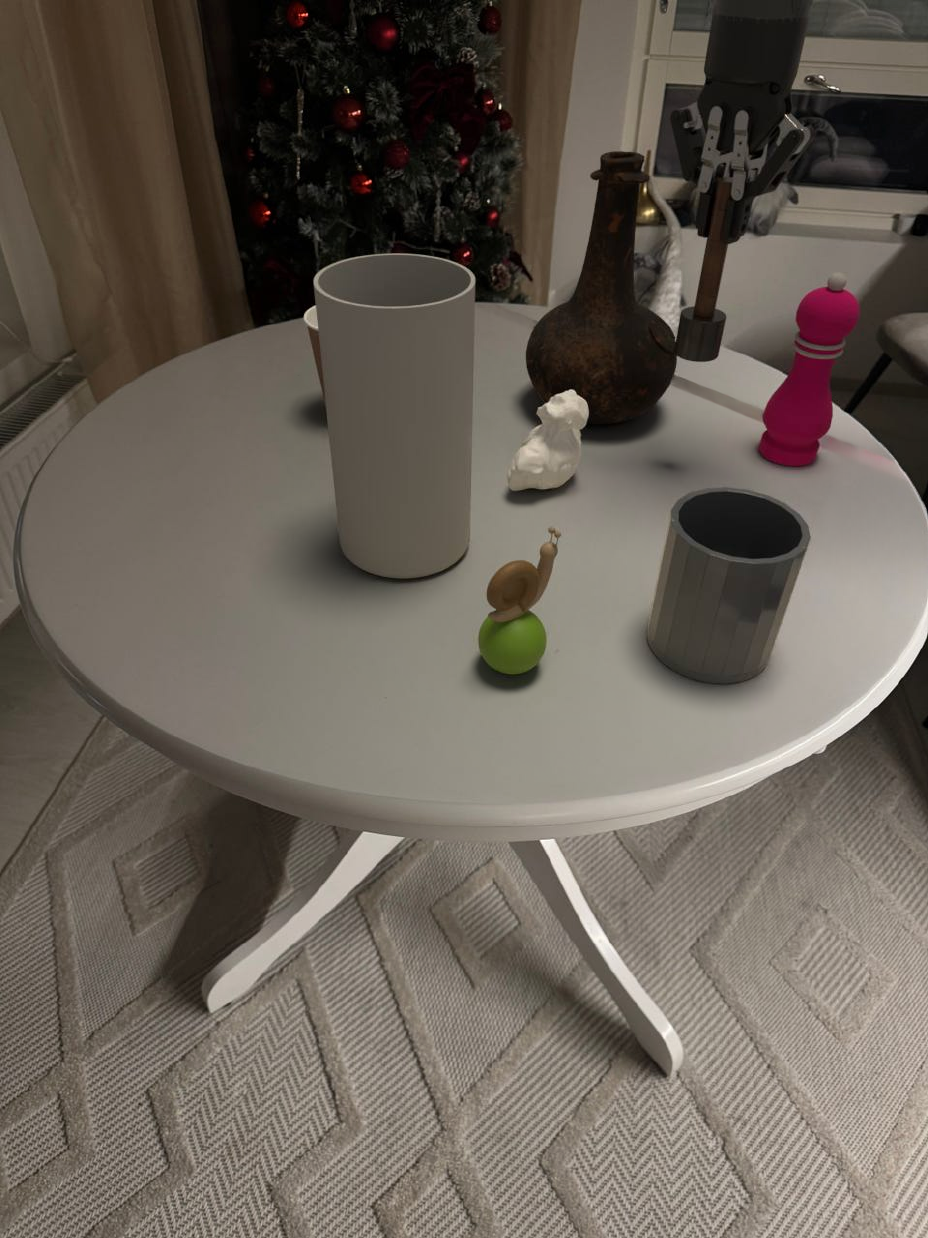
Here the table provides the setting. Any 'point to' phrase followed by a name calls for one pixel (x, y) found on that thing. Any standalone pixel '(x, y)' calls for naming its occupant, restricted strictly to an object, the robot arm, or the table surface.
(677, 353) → the brush
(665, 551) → the grey pencil holder
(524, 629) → the snail figurine
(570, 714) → the table surface
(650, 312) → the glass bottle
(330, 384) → the cylinder vase
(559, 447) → the bust
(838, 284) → the pepper mill
